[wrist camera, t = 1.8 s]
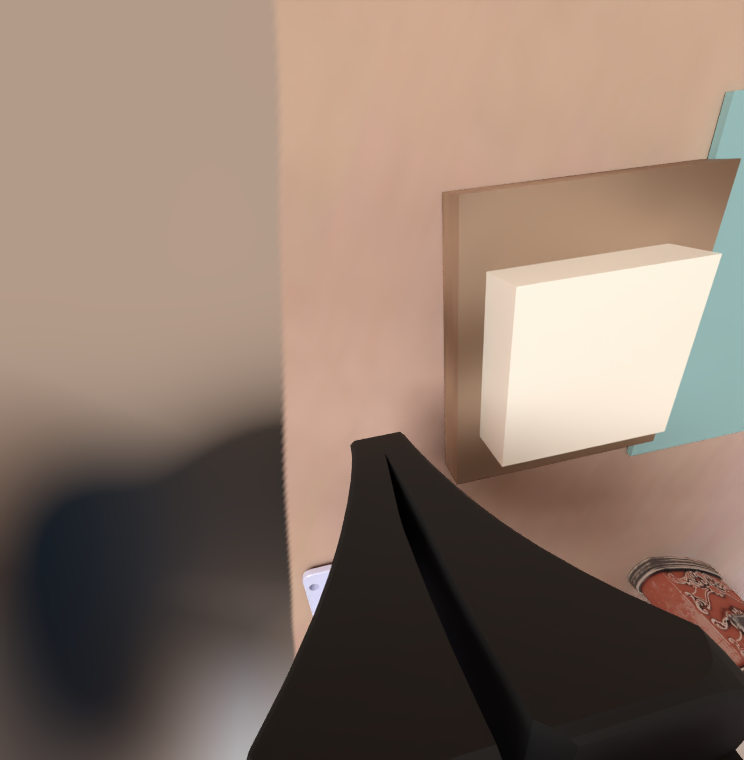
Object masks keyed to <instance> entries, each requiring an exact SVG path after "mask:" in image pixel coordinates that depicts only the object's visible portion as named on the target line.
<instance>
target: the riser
mask: <svg viewBox="0 0 744 760" xmlns="http://www.w3.org/2000/svg"><path fill="white" fill-rule="evenodd" d="M740 161H741V158H733V159H700V160H692V161H684V162H676V163H668V164H660V165H653V166H645V167H637V168H629V169H621V170H613V171H605V172H598V173H590V174H582V175H574V176H566V177H558V178H551V179H543V180H535V181H527V182H519V183H511V184H503V185H496V186H488V187H480V188H472V189H464V190H456V191H449V192H442V214H443V299H444V383H445V463H446V465H447V467H448V469H449V471H450V472H451V474H452V476H453V478H454V480H455V482H456V483H457V484H462V483H466V482H471V481H475V480H480V479H484V478H489V477H493V476H498V475H502V474H507V473H511V472H516V471H521V470H525V469H530V468H534V467H539V466H543V465H548V464H552V463H557V462H561V461H566V460H570V459H575V458H579V457H584V456H588V455H593V454H597V453H602V452H606V451H611V450H615V449H620V448H624V447H629V446H633V445H638V444H642V443H647V442H651V441H653V440H654V437H655V434H656V433H654V434H650V435H645V436H641V437H636V438H632V439H627V440H622V441H618V442H613V443H609V444H604V445H600V446H595V447H591V448H586V449H581V450H577V451H572V452H568V453H563V454H559V455H554V456H549V457H545V458H540V459H536V460H531V461H527V462H522V463H517V464H513V465H508V466H504V467H502V466H501V465H500V463H499V462H498V461H497V459H496V458H495V457H494V455H493V454H492V452H491V451H490V450H489V448H488V447H487V446H486V444H485V443H484V441H483V440H482V439H481V437H480V417H481V393H482V369H483V345H484V320H485V296H486V272H488V271H494V270H501V269H507V268H514V267H520V266H527V265H533V264H540V263H546V262H552V261H559V260H565V259H572V258H578V257H585V256H591V255H598V254H604V253H611V252H617V251H623V250H630V249H636V248H643V247H649V246H656V245H662V244H674V245H680V246H685V247H690V248H695V249H701V250H706V251H711V252H712V251H713V248H714V244H715V241H716V238H717V235H718V232H719V228H720V225H721V222H722V219H723V216H724V212H725V209H726V206H727V203H728V200H729V196H730V193H731V190H732V187H733V184H734V180H735V177H736V174H737V171H738V167H739V164H740Z"/></svg>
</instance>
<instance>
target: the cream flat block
mask: <svg viewBox="0 0 744 760" xmlns="http://www.w3.org/2000/svg"><path fill="white" fill-rule="evenodd" d="M721 256H722V253H717V252H711V251H706V250H701V249H695V248H690V247H685V246H680V245H674V244H662V245H656V246H649V247H643V248H636V249H630V250H623V251H617V252H611V253H604V254H598V255H591V256H585V257H578V258H572V259H565V260H559V261H552V262H546V263H540V264H533V265H527V266H520V267H514V268H507V269H501V270H494V271H488V272H486V296H485V320H484V345H483V369H482V393H481V417H480V437H481V439H482V440H483V441H484V443H485V444H486V446H487V447H488V448H489V450H490V451H491V452H492V454H493V455H494V457H495V458H496V459H497V461H498V462H499V463H500V465H501V466H502V467H504V466H508V465H513V464H517V463H522V462H527V461H531V460H536V459H540V458H545V457H549V456H554V455H559V454H563V453H568V452H572V451H577V450H581V449H586V448H591V447H595V446H600V445H604V444H609V443H613V442H618V441H622V440H627V439H632V438H636V437H641V436H645V435H650V434H654V433H659V432H664V431H665V428H666V425H667V422H668V419H669V416H670V413H671V410H672V407H673V404H674V401H675V398H676V394H677V391H678V388H679V385H680V382H681V379H682V376H683V373H684V370H685V367H686V364H687V361H688V357H689V354H690V351H691V348H692V345H693V342H694V339H695V336H696V333H697V330H698V327H699V324H700V320H701V317H702V314H703V311H704V308H705V305H706V302H707V299H708V296H709V293H710V290H711V287H712V283H713V280H714V277H715V274H716V271H717V268H718V265H719V262H720V259H721Z"/></svg>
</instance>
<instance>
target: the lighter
mask: <svg viewBox="0 0 744 760" xmlns="http://www.w3.org/2000/svg"><path fill="white" fill-rule="evenodd" d="M628 580H629V582H630V583H631V584H632V585H633V586H634V588H635V589H636V590H637V591H638V592H639V593H641V594H643V595H645V596H646V597H647V599H648V600H649V601H650V602H651V603H652V604H653V606H656V607H658V608H660V609H662V610H665V611H667V612H669V613H671V614H674V615H676V616H678V617H680V618H683V619H685V620H687V621H689V622H692V623H694V624H696V625H699V626H700V627H701V628H702V629H703V630H704V631H705V632H706V633H707V634H708V635H709V636H710V637H711V638H712V639H713V640H714V641H715V642H716V643H717V644H718V645H719V646H720V647H721V648H722V649H723V650H724V651H725V652H726V653H727V654H728V656H729V657H730V658H731V659H732V660H733V661H734V662H735V663H736V665H737V666H738V667H739V668H740V669H741V670H742V671H743V673H744V601H743V600H742V599H741V598H740V597H739V596H738V595H737V594H736V593H735V592H734V591H732V590H731V589H730V588H729V587H728V586H727V585H726V584H725V583H724V582H723V581H722V580H723V578H722V576H721V575H720V574H718V573H717V572H716V571H715V570H714V569H713V568H712V567H711V566H710V565H708V564H705V563H703V562H701V561H698V560H694V559H690V558H684V557H671V556H670V557H652V558H648V559H646V560H643V561H642V562H640V563H639V564H637V565H636V566H635V567H634V568H633V569H632V570H631V572H630V573H629V575H628Z"/></svg>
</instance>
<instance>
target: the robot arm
mask: <svg viewBox="0 0 744 760" xmlns="http://www.w3.org/2000/svg"><path fill="white" fill-rule="evenodd" d="M350 446H351V452H352V473H351V483H350V489H349V496H348V503H347V508H346V512H345V517H344V521H343V526H342V530H341V534H340V538H339V542H338V546H337V549H336V553H335V556H334V559H333V562H332V564H330V565H326V566H322V567H317V568H313V569H310V570H307V571H306V572H305V573H304V574H303V584H304V588H305V591H306V594H307V598H308V601H309V604H310V608H311V611H312V614H313V618H312V620H311V623H310V625H309V628H308V630H307V632H306V634H305V637H304V639H303V641H302V643H301V646H300V648H299V650H298V653H297V655H296V657H295V659H294V662H293V664H292V666H291V668H290V671H289V673H288V675H287V677H286V679H285V681H284V683H283V686H282V687H281V690H280V691H279V693H278V695H277V697H276V699H275V701H274V703H273V705H272V707H271V709H270V711H269V713H268V715H267V717H266V719H265V721H264V723H263V725H262V727H261V728H260V731H259V732H258V735H257V736H256V738H255V741H254V742H253V744H252V746H251V748H250V751H249V753H248V757H247V760H743V759H742V758H741V757H740V755H739V754H738V753H737V751H736V749H737V747H738V746H739V745H740V744H741V743H742V742H743V741H744V673H743V671H742V670H741V669H740V668H739V667H738V666H737V665H736V663H735V662H734V661H733V660H732V659H731V658H730V657H729V656H728V654H727V653H726V652H725V651H724V650H723V649H722V648H721V647H720V646H719V645H718V644H717V643H716V642H715V641H714V640H713V639H712V638H711V637H710V636H709V635H708V634H707V633H706V632H705V631H704V630H703V629H702V628H701V627H700V626H699V625H696V624H694V623H692V622H689V621H687V620H685V619H683V618H680V617H678V616H676V615H674V614H671V613H669V612H667V611H665V610H662V609H660V608H658V607H656V606H653V605H651V604H649V603H647V602H644V601H642V600H640V599H638V598H635V597H633V596H631V595H629V594H627V593H625V592H622V591H620V590H618V589H616V588H614V587H612V586H610V585H609V584H607V583H605V582H603V581H601V580H599V579H597V578H595V577H593V576H591V575H589V574H587V573H585V572H583V571H581V570H579V569H578V568H576V567H574V566H572V565H571V564H569V563H567V562H565V561H564V560H562V559H560V558H558V557H557V556H555V555H553V554H551V553H550V552H548V551H546V550H544V549H543V548H541V547H539V546H538V545H536V544H534V543H533V542H531V541H530V540H528V539H527V538H525V537H524V536H522V535H520V534H519V533H517V532H516V531H514V530H513V529H511V528H510V527H509V526H507V525H506V524H504V523H503V522H501V521H500V520H498V519H497V518H496V517H494V516H493V515H492V514H490V513H489V512H488V511H486V510H485V509H484V508H482V507H481V506H480V505H478V504H477V503H476V502H475V501H473V500H472V499H471V498H470V497H468V496H467V495H466V494H465V493H464V492H462V491H461V490H460V489H459V488H458V487H456V486H455V485H454V484H453V483H452V482H451V481H450V480H449V479H447V478H446V477H445V476H444V475H443V474H442V473H441V472H440V471H439V470H438V469H436V468H435V467H434V466H433V465H432V464H431V463H430V462H429V461H428V460H427V459H426V458H425V457H424V456H423V455H422V454H421V453H420V452H419V451H418V450H417V449H416V448H415V446H414V445H413V444H412V443H411V442H410V441H409V440H408V439H407V438H406V436H405V435H404V434H402V433H401V432H396V433H391V434H386V435H382V436H377V437H372V438H367V439H362V440H357V441H354V442H353V443H352V444H351V445H350Z"/></svg>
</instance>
